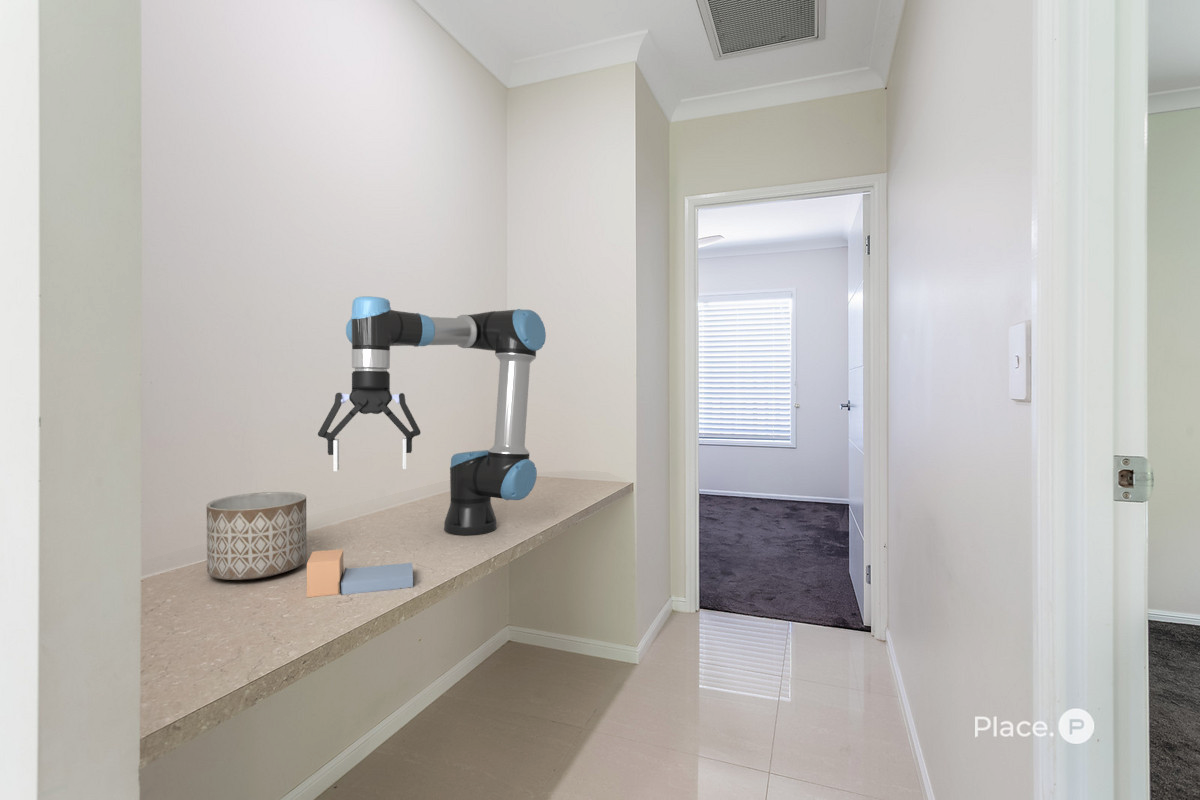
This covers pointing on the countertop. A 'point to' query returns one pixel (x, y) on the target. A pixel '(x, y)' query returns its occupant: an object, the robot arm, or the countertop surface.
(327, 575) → the block
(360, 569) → the blue-grey slab
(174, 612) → the countertop surface
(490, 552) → the countertop surface
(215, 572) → the planter
